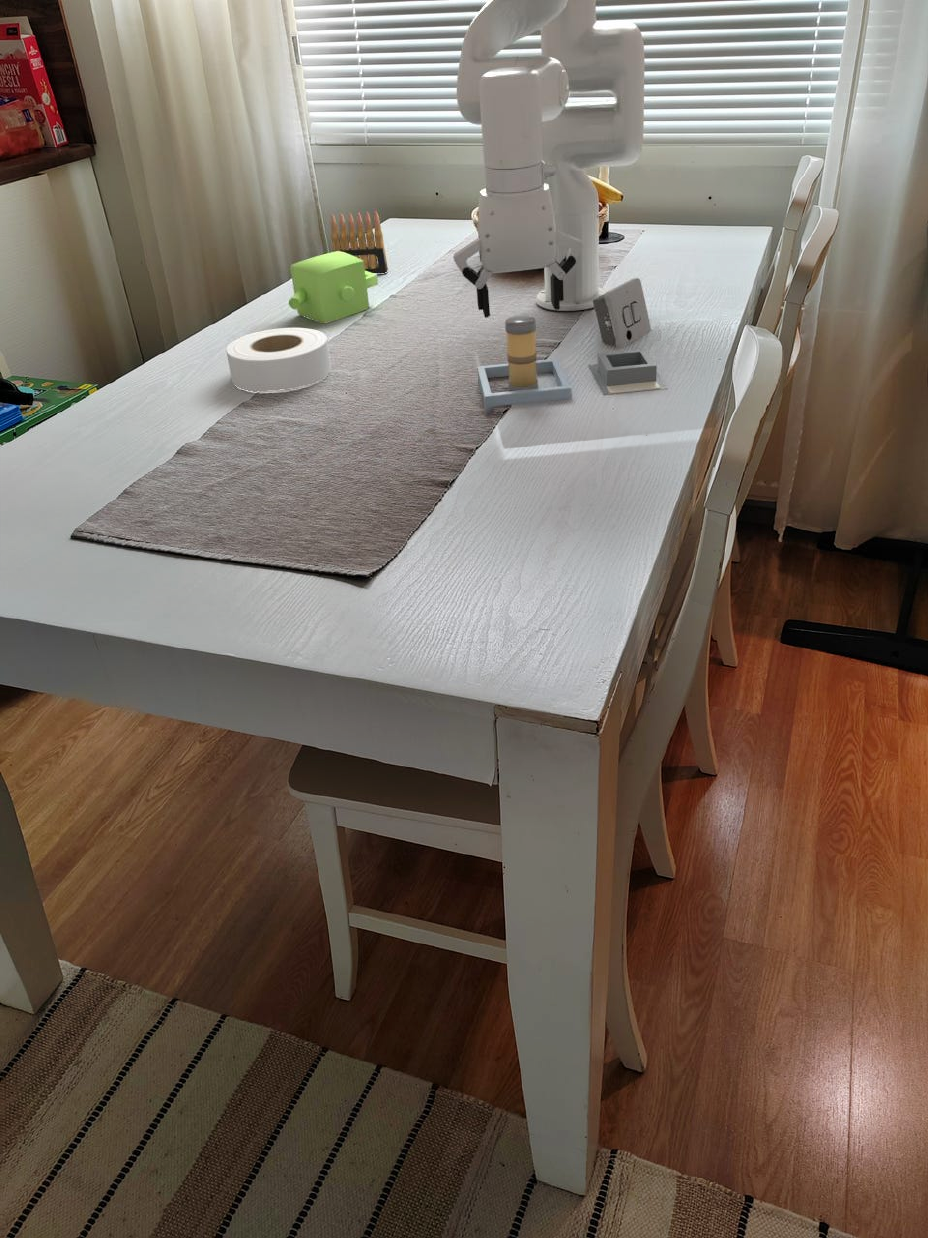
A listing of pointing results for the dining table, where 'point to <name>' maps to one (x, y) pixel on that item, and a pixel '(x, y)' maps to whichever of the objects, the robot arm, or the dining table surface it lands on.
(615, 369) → the grey square socket holder
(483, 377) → the tray
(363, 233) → the ammunition clip
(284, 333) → the roll of tape
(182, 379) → the dining table surface
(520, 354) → the fuse
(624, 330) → the electrical switch
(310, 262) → the gearbox
